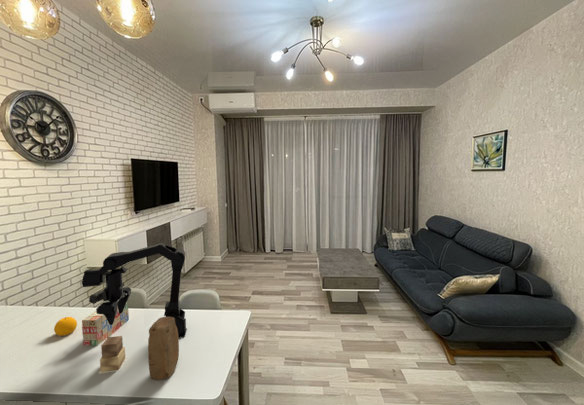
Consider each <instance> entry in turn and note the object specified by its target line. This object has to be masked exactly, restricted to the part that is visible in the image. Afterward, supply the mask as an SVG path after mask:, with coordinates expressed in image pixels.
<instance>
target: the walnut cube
mask: <svg viewBox="0 0 584 405" xmlns="http://www.w3.org/2000/svg"><path fill="white" fill-rule="evenodd" d="M100 345H101V348H100V349H101V357H102V358H108V357H116V356H118V354H119V353H120V351H121V350H122V348H123V347H124V346H123V345H124V342H123V335H118V336H110V337H108V338H106V339H105V340H104V341H103V343H101V344H100Z"/></svg>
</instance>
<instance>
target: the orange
mask: <svg viewBox="0 0 584 405" xmlns="http://www.w3.org/2000/svg"><path fill="white" fill-rule="evenodd" d="M77 326H78V322H77V320H76V319H75V317H72V316H66V317H63V318H60V319H59V320H58V321H57V322H56V323H55V325H54V327H53V328H54V329H53V330H54V333H55V334H56V336H59V337H60V336H61V337H62V336H63V337H64V336H68V335H70V334H72V333H73V332H74V331H75V330H76V329H77Z"/></svg>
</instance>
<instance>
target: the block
mask: <svg viewBox="0 0 584 405" xmlns="http://www.w3.org/2000/svg"><path fill="white" fill-rule="evenodd" d="M148 335H149V336H148V338H147V340H148V344H147V345H148V346H147V347H148V348H147V349H148V351H147V354H148V371H149V376H150V377H149V378H151V380H155V381H164V380H166V379H169V378H170V377H171V376H172V375H173V374H174V373H175V371H176V368H177V366H178V361H179V355H180V345H179V343H180V342H179V338H180V337H179V338H178V330H177V327H176V325H175V319H174V318H173V317H165V316H162V317H159V318H158V319H157V320H155V321H154V322H153V323H152V324H151V326H150V328H149V329H148Z"/></svg>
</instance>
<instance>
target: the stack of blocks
mask: <svg viewBox="0 0 584 405" xmlns="http://www.w3.org/2000/svg"><path fill="white" fill-rule="evenodd" d="M117 308H118V307H117ZM129 317H130V315H129V305H128V302H127V303H126V305H125V308H124V310H123V312H122V313H121V314H120V313H119V311H118V310H117V314H116V317H115V320H114V323H113V325H110V324H109V323H108V321H107V319H106V317H105V315H103V314H97V313H96V310H94V311H93V312H91V313H90V314H89V315H87V316H85V317H84V318H83V319H81V326H82V327H81V330H82V340H83V342H82V343H83V346H100V345H101V344H102V342H103V343H104V341H105V340H106V339H107V338H108V337H112V335H113V334H115V333H116V332H117V331H118V330H119V329H120V328H121V327H123V326H124V325H125V324H126V323H127V322H128V321H129V319H130V318H129Z"/></svg>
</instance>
